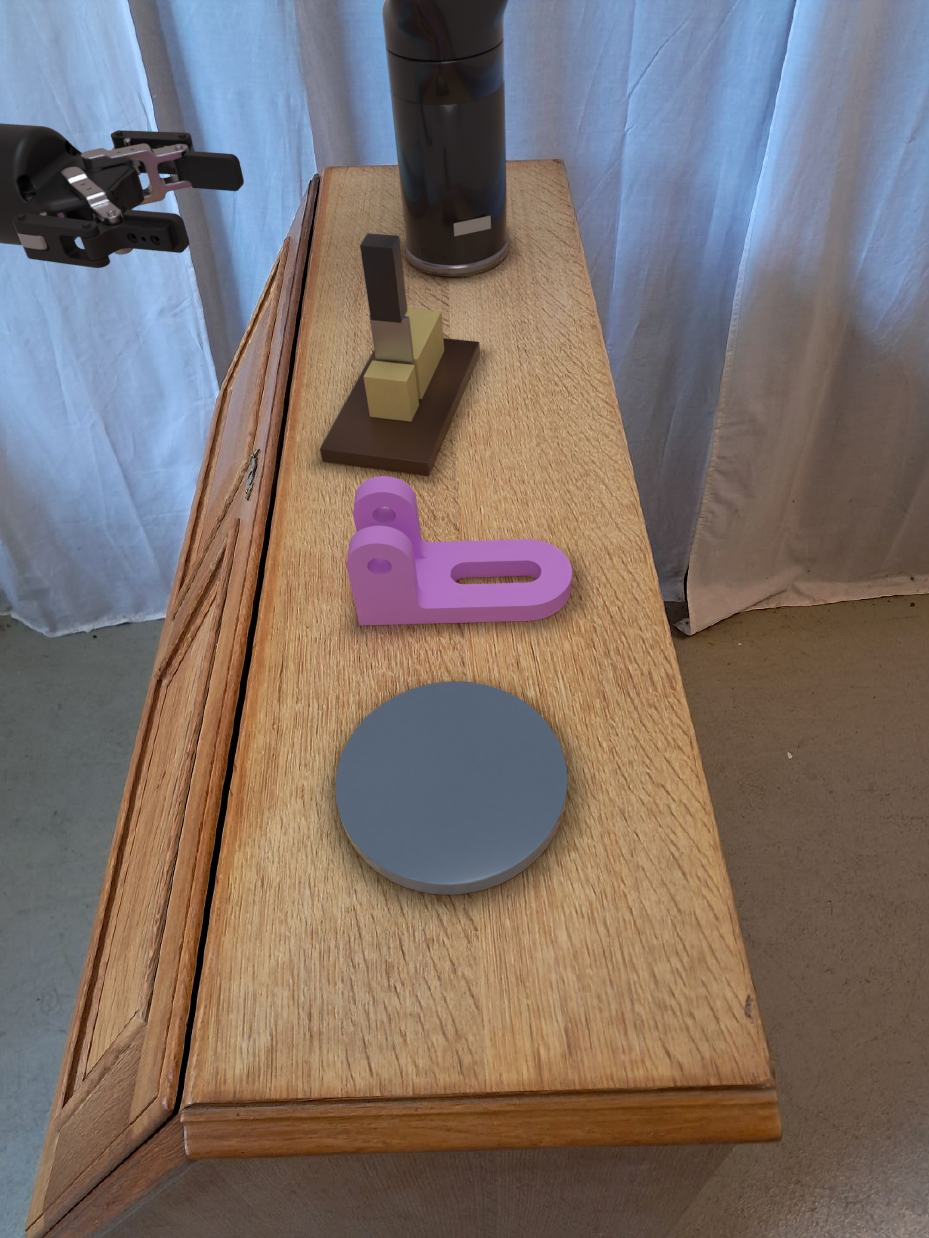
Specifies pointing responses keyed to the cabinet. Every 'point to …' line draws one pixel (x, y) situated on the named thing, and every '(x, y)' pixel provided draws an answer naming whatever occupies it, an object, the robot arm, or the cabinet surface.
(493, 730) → the plate
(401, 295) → the knife
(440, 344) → the butter
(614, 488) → the cabinet surface
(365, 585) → the bracket
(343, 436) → the board
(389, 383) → the butter slice
